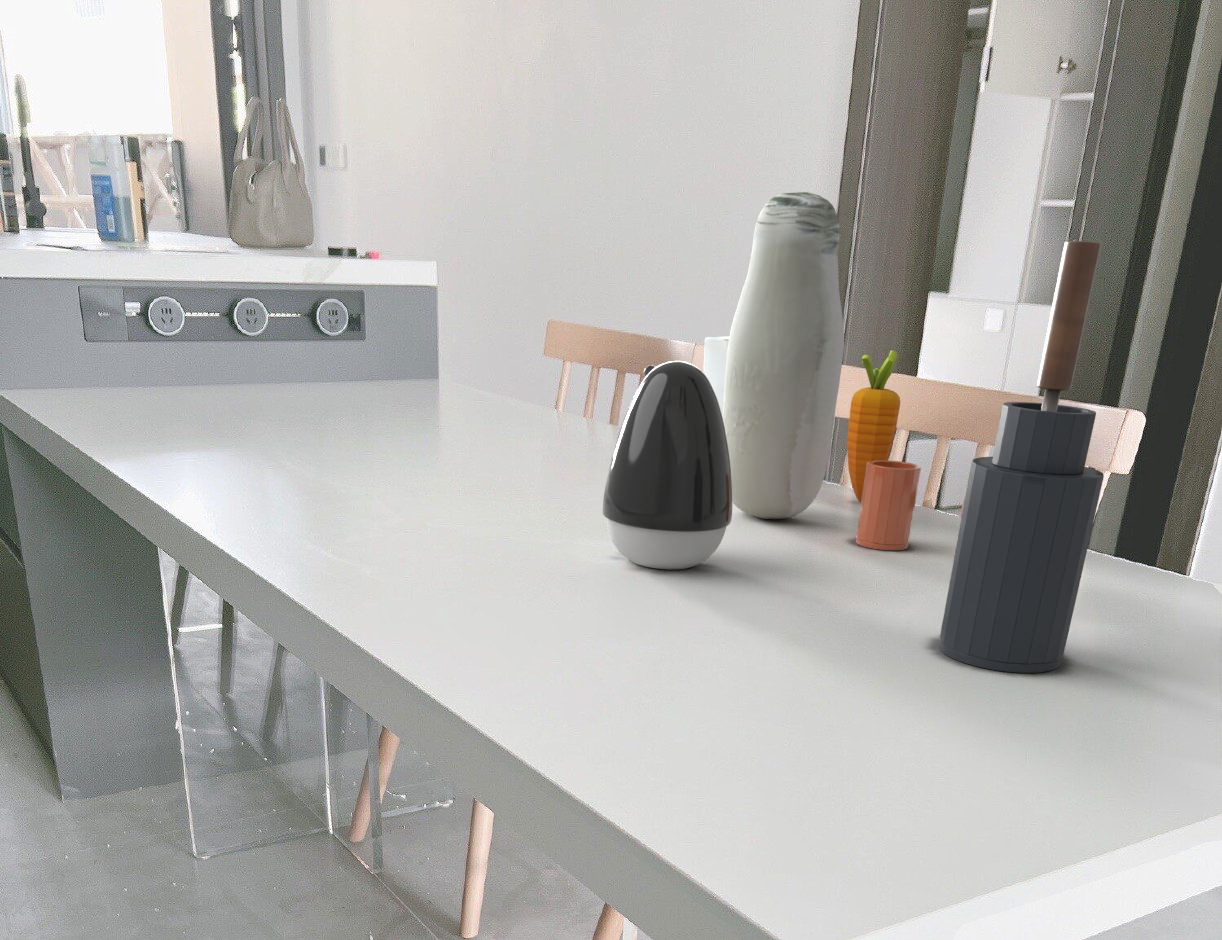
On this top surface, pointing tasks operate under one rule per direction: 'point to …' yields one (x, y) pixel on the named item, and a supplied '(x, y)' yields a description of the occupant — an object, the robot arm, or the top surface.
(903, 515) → the cup
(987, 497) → the steel bottle
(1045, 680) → the top surface
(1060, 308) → the bottle brush
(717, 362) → the cosmetic box
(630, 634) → the top surface
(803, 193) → the pale grey bottle
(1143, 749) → the top surface
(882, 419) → the carrot
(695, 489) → the dark egg shaped ornament
